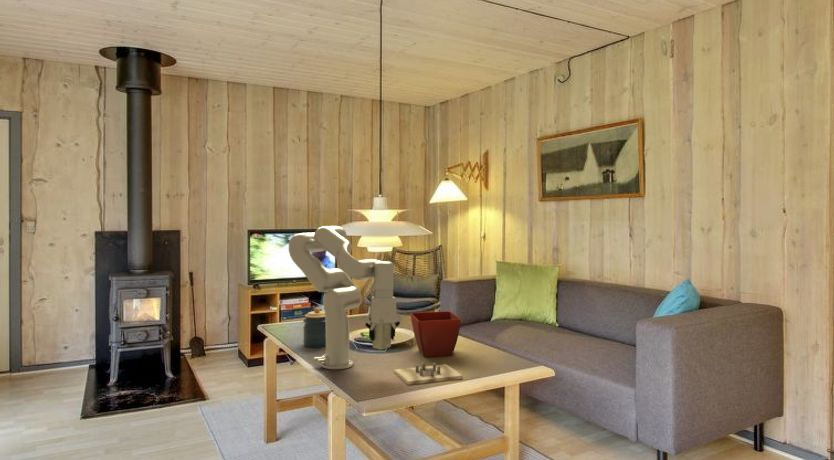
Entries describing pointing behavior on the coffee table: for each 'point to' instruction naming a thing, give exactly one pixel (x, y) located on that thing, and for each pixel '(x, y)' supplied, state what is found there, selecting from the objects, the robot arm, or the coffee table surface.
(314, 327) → the canister
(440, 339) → the plant pot
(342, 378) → the coffee table surface
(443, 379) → the pin tray
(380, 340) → the skincare box
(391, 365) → the coffee table surface
